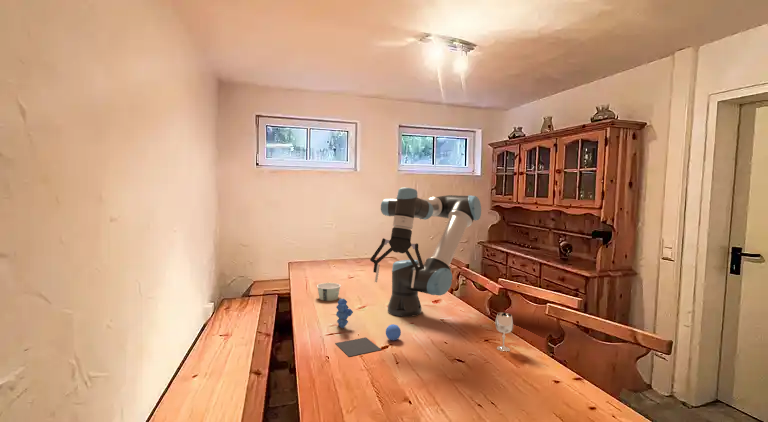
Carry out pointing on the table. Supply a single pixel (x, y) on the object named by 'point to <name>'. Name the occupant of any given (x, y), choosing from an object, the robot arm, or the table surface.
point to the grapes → (343, 313)
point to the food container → (328, 291)
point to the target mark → (357, 347)
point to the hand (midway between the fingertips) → (393, 284)
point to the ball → (393, 332)
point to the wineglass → (504, 327)
